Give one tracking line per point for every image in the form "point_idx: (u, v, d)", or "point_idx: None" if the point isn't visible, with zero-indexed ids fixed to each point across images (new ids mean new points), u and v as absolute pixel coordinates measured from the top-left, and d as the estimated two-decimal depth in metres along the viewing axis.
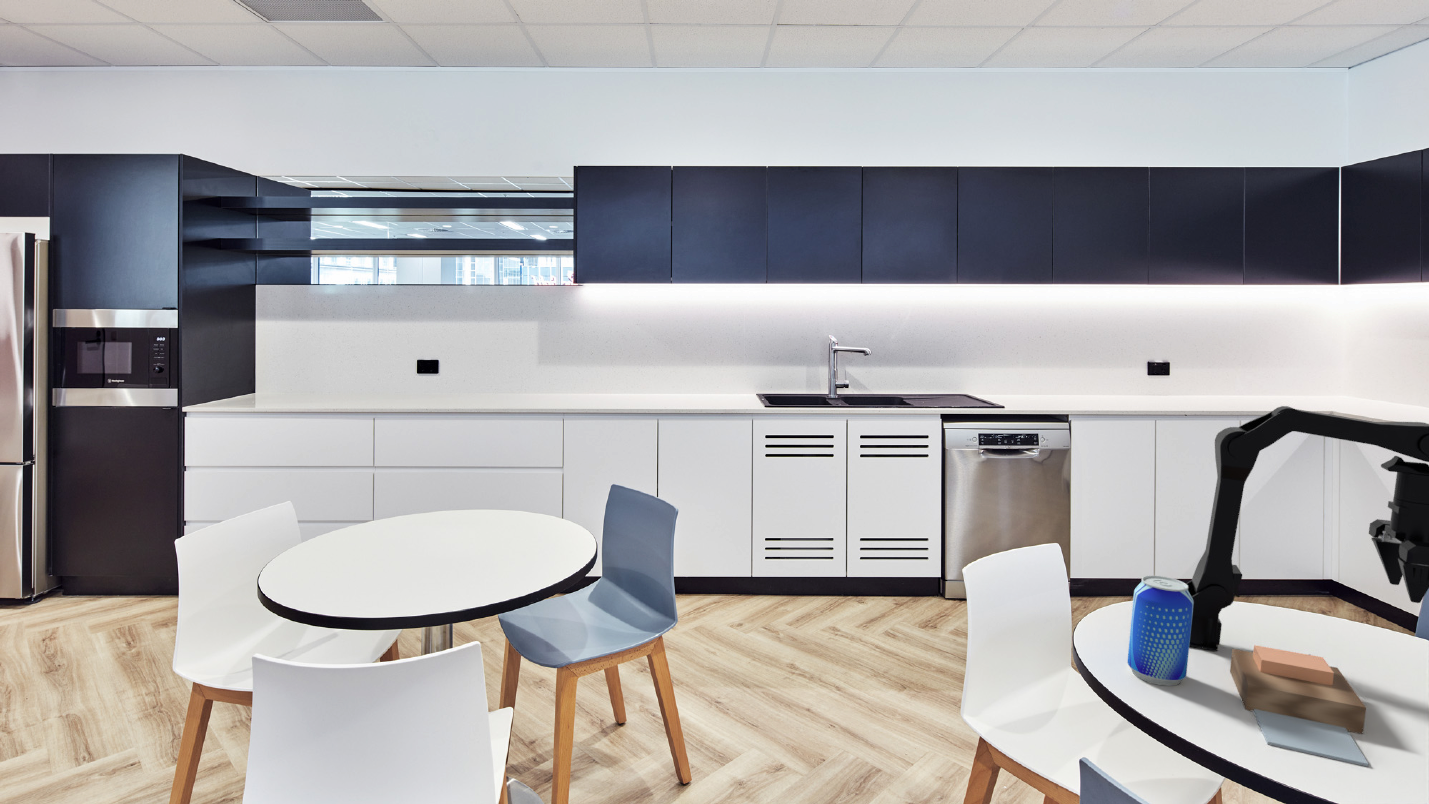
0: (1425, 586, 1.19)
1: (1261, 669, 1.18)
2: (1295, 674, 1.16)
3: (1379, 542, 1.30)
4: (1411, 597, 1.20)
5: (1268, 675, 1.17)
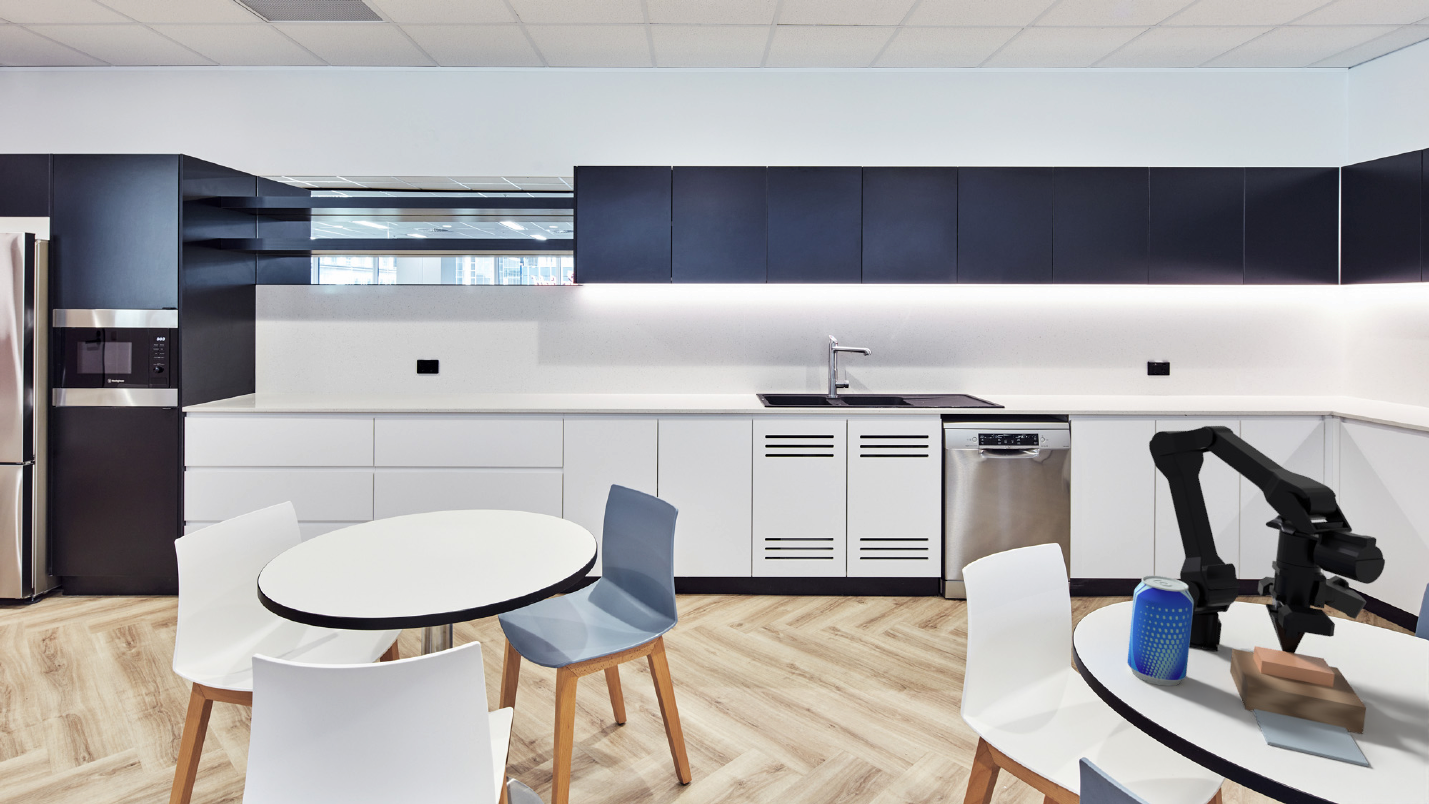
0: (1297, 641, 1.20)
1: (1261, 670, 1.18)
2: (1295, 675, 1.16)
3: (1272, 610, 1.23)
4: None
5: (1268, 675, 1.17)
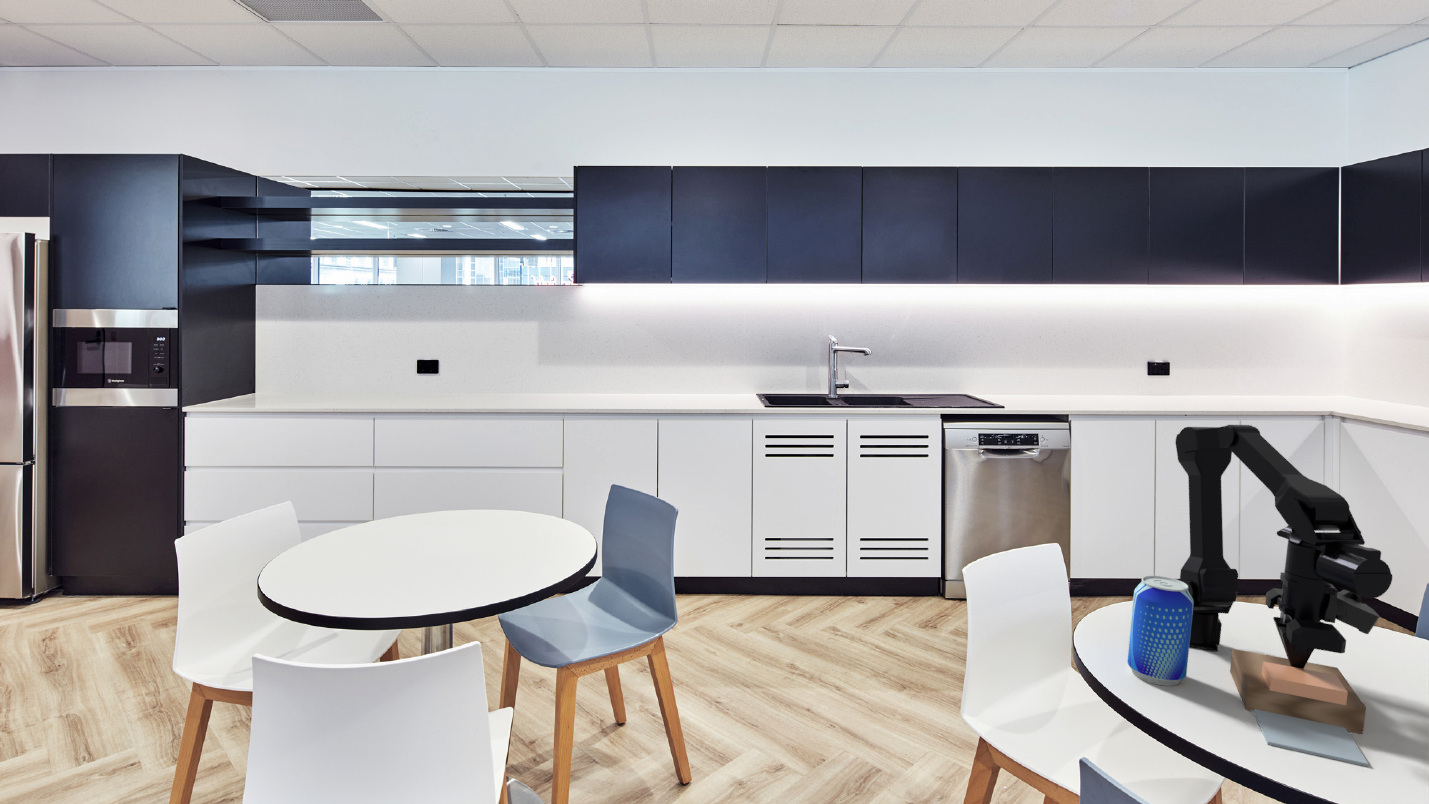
0: (1306, 656, 1.15)
1: (1271, 687, 1.12)
2: (1307, 693, 1.11)
3: (1280, 624, 1.18)
4: None
5: None
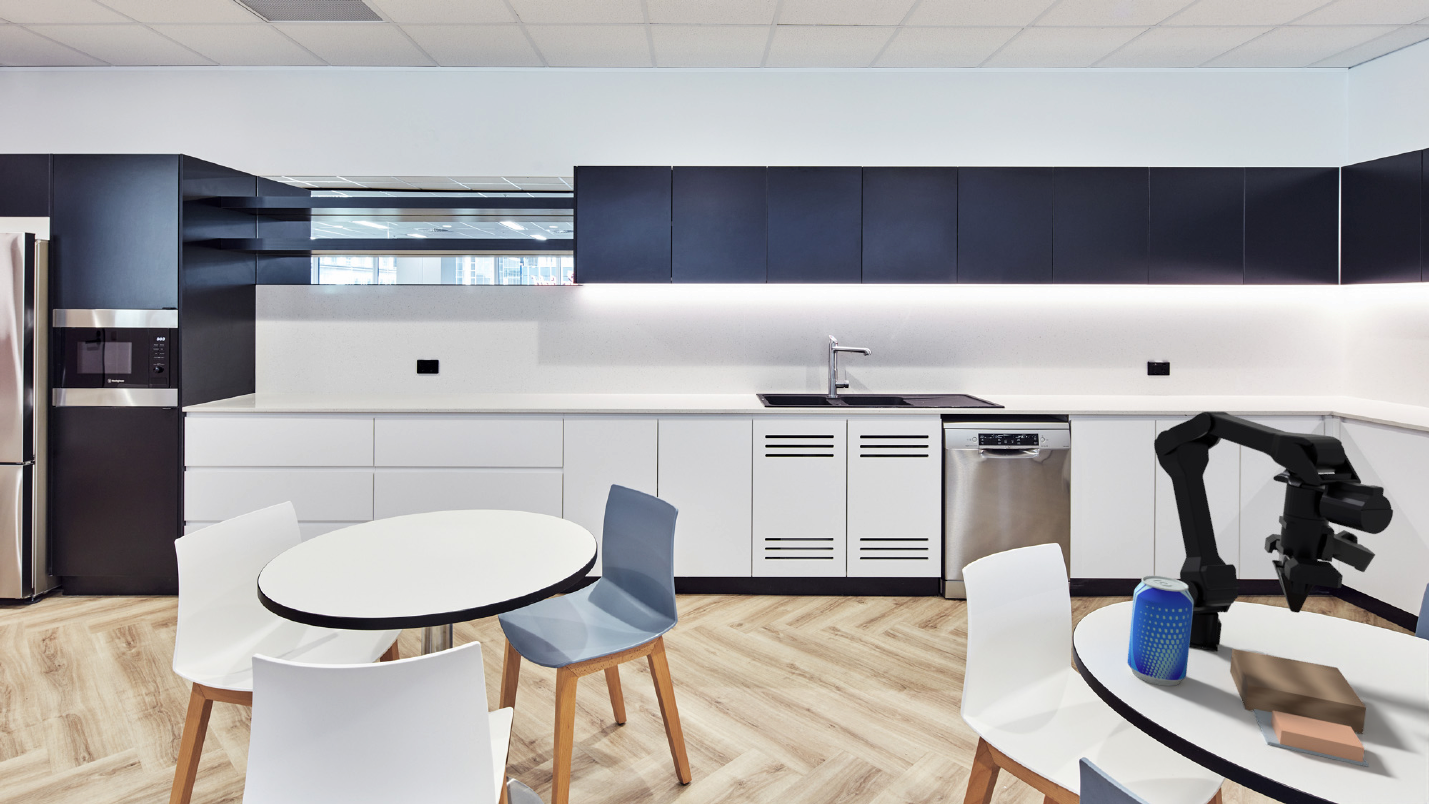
0: (1303, 596, 1.18)
1: (1273, 713, 1.10)
2: None
3: (1278, 565, 1.21)
4: (1290, 607, 1.20)
5: (1268, 675, 1.17)
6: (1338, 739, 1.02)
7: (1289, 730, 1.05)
